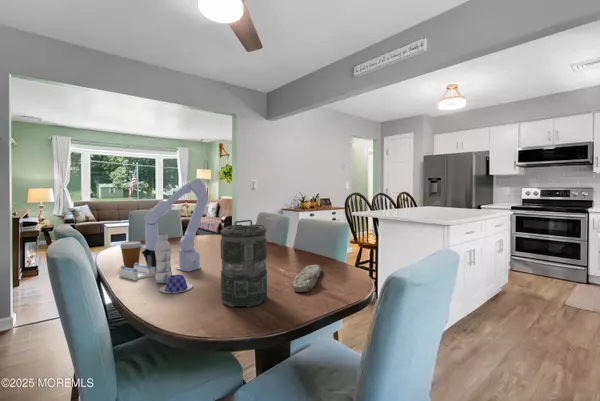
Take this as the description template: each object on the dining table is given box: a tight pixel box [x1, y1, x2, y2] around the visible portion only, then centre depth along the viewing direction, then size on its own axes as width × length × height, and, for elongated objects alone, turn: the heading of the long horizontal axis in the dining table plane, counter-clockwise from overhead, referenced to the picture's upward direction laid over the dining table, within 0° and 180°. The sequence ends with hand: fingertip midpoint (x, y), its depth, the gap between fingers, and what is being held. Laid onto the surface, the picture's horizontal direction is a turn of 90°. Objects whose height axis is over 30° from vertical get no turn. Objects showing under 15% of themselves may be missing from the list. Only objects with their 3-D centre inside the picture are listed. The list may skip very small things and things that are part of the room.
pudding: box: [159, 274, 193, 294], centre depth 120 cm, size 12×12×5 cm
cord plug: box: [147, 255, 156, 270], centre depth 144 cm, size 3×3×7 cm
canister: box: [219, 219, 268, 308], centre depth 107 cm, size 16×16×28 cm
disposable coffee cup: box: [119, 240, 143, 269], centre depth 155 cm, size 10×10×12 cm
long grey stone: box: [292, 264, 322, 293], centre depth 131 cm, size 35×5×10 cm
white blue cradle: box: [118, 262, 156, 281], centre depth 141 cm, size 12×16×5 cm
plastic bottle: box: [154, 233, 173, 284], centre depth 127 cm, size 6×7×20 cm
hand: (152, 265), depth 144 cm, fingers open, 4 cm apart
